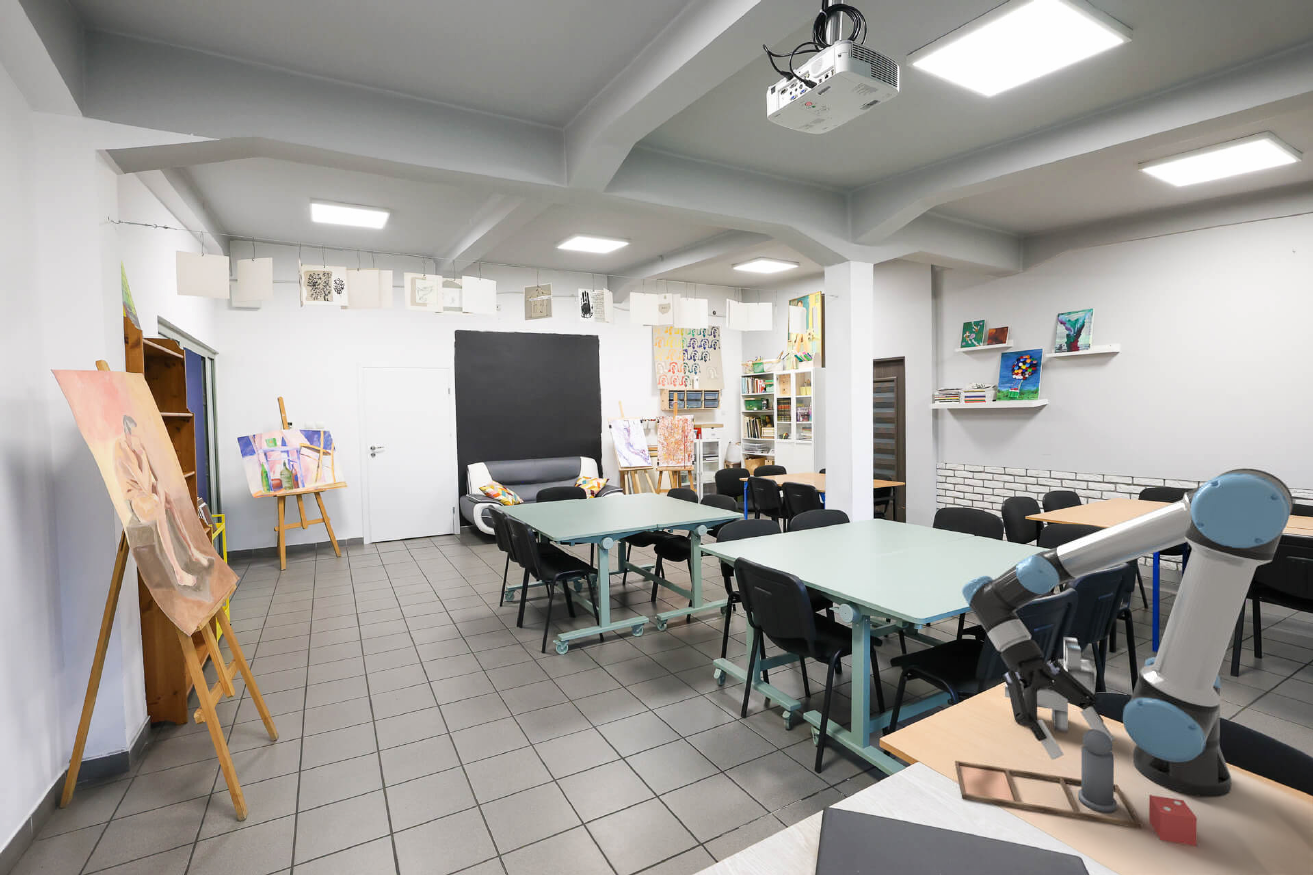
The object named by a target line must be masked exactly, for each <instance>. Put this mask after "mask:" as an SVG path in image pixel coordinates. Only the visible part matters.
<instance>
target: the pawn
mask: <svg viewBox="0 0 1313 875" xmlns="http://www.w3.org/2000/svg"><path fill="white" fill-rule="evenodd" d="M1082 743H1083V745H1082V746H1081V748H1080V749H1081V750H1080V752H1081V755H1080V756H1081V775H1080V776H1081V777H1080V778H1081V785H1080V786H1081V788H1080V789H1079V790H1078V792H1077V796H1078V797H1077V798H1078V801H1079V802H1080V803H1081V804H1082V805H1083V806H1085V807H1086V808H1088V809H1090V810H1092V811H1095V812H1098V813H1103V814H1112V813H1113V814H1114V813H1115V812H1116V811H1117V809H1118V801H1117V799H1115V798H1114V794H1115V793H1114V791H1115V790H1114V784H1115V783H1114V782H1115V781H1114V777H1115V775H1114V773H1115V772H1114V771H1115V768H1114V765H1115V764H1114V763H1115V762H1114V761H1115V756H1114V754H1113V752H1112V750H1113V741H1111V739H1110V738H1109V737H1108V735H1107V734H1105V733H1104V732H1102V731H1100V730H1096V729H1089V730H1087V731H1086V732H1084V733H1083V736H1082Z"/></svg>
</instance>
